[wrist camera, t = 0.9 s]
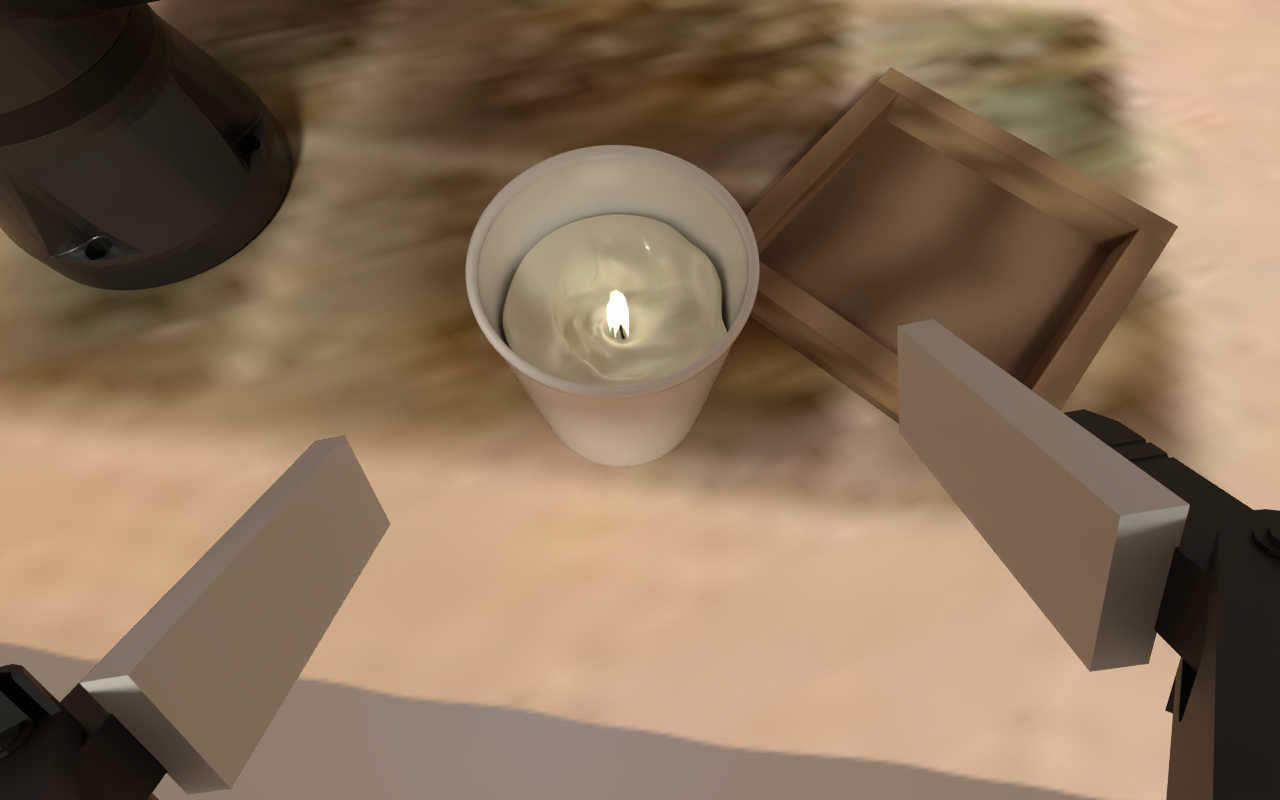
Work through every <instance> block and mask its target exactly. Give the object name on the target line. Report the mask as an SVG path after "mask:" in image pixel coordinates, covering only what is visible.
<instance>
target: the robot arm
mask: <svg viewBox="0 0 1280 800" xmlns="http://www.w3.org/2000/svg"><path fill="white" fill-rule="evenodd" d="M154 1H159V0H0V228H1V229H2V230H3V231H4V232H5V233H6V234H7V236H8V237H9V238H10V239H11V240H12V241H13V242H14V243H15V244H17V245H18V246H19V247H20V248H21V249H23V250H24V251H25V252H27V253H28V254H30V255H31V256H33V257H34V258H36V259H38V260H39V261H41V262H43V263H44V264H46V265H47V266H49V267H51V268H52V269H54V270H56V271H57V272H59V273H61V274H62V275H64V276H65V277H67V278H69V279H71V280H74V281H76V282H79V283H81V284H84V285H88V286H92V287H96V288H102V289H110V290H138V289H147V288H153V287H159V286H163V285H167V284H171V283H174V282H178V281H181V280H184V279H187V278H189V277H192V276H194V275H197V274H199V273H201V272H203V271H205V270H207V269H210V268H211V267H213V266H215V265H217V264H219V263H220V262H222V261H224V260H225V259H227V258H228V257H230V256H231V255H233V254H234V253H236V252H237V251H238V250H240V249H241V248H242V247H243V246H245V245H246V244H247V243H248V242H249V241H250V240H251V239H253V238H254V237H255V236H256V235H257V234H258V233H259V232H260V230H261V229H262V228H263V227H264V226H265V225H266V224H267V222H268V221H269V220H270V218H271V217H272V216H273V214H274V213H275V211H276V210H277V208H278V206H279V204H280V203H281V201H282V198H283V196H284V194H285V191H286V189H287V186H288V182H289V178H290V173H291V151H290V147H289V143H288V140H287V137H286V135H285V133H284V131H283V129H282V128H281V126H280V125H279V123H278V122H277V121H276V119H275V118H274V116H273V115H272V114H271V112H270V111H269V110H268V108H267V107H266V105H265V104H264V103H263V101H262V100H261V99H260V97H259V96H258V95H257V94H256V93H255V92H254V91H253V90H252V89H251V88H250V87H249V86H248V85H247V84H246V83H245V82H243V81H242V80H241V79H239V78H238V77H237V76H236V75H234V74H233V73H232V72H230V71H229V70H228V69H227V68H225V67H224V66H223V65H221V64H220V63H219V62H218V61H216V60H215V59H214V58H212V57H211V56H210V55H208V54H207V53H206V52H205V51H203V50H202V49H201V48H199V47H198V46H197V45H196V44H194V43H193V42H192V41H190V40H189V39H188V38H187V37H185V36H184V35H183V34H181V33H180V32H179V31H177V30H176V29H175V28H174V27H172V26H171V25H170V24H168V23H167V22H166V21H165V20H163V19H162V18H161V17H159V16H158V15H157V14H156V13H155V12H154V11H153V10H152V9H151V7H150V6H149V5H148V4H147V3H149V2H154ZM897 337H898V394H899V433H900V434H901V435H902V436H903V438H904V439H905V440H906V441H907V443H908V444H909V445H910V446H911V448H912V449H913V450H914V451H915V453H916V454H917V455H918V456H919V458H920V459H921V460H922V461H923V463H924V464H925V465H926V467H927V468H928V469H929V470H930V472H931V473H932V474H933V475H934V477H935V478H936V479H937V480H938V482H939V483H940V484H941V485H942V487H943V488H944V489H945V490H946V492H947V493H948V494H949V495H950V497H951V498H952V499H953V500H954V502H955V503H956V504H957V505H958V507H959V508H960V509H961V510H962V512H963V513H964V514H965V515H966V517H967V518H968V519H969V520H970V522H971V523H972V524H973V525H974V527H975V528H976V529H977V531H978V532H979V533H980V534H981V536H982V537H983V538H984V539H985V541H986V542H987V543H988V544H989V546H990V547H991V548H992V549H993V551H994V552H995V553H996V554H997V556H998V557H999V558H1000V559H1001V561H1002V562H1003V563H1004V564H1005V566H1006V567H1007V568H1008V569H1009V571H1010V572H1011V573H1012V574H1013V576H1014V577H1015V578H1016V579H1017V581H1018V582H1019V583H1020V584H1021V586H1022V587H1023V588H1024V589H1025V591H1026V592H1027V593H1028V595H1029V596H1030V597H1031V598H1032V600H1033V601H1034V602H1035V603H1036V605H1037V606H1038V607H1039V608H1040V610H1041V611H1042V612H1043V613H1044V615H1045V616H1046V617H1047V618H1048V620H1049V621H1050V622H1051V623H1052V625H1053V626H1054V627H1055V628H1056V630H1057V631H1058V632H1059V633H1060V635H1061V636H1062V637H1063V638H1064V640H1065V641H1066V642H1067V643H1068V645H1069V646H1070V647H1071V648H1072V650H1073V651H1074V652H1075V653H1076V655H1077V656H1078V657H1079V659H1080V660H1081V661H1082V662H1083V664H1084V665H1085V666H1086V667H1087V669H1088V670H1089V671H1090V672H1091V671H1098V670H1105V669H1113V668H1120V667H1127V666H1135V665H1142V664H1149V660H1150V656H1151V652H1152V649H1153V645H1154V641H1155V637H1156V633H1158V634H1159V635H1160V636H1161V637H1162V638H1163V639H1164V640H1165V641H1166V642H1167V643H1168V644H1169V645H1170V646H1171V647H1172V648H1173V649H1174V650H1175V651H1176V652H1177V653H1178V654H1179V655H1180V656H1181V659H1180V662H1179V666H1178V669H1177V673H1176V676H1175V679H1174V683H1173V686H1172V690H1171V693H1170V696H1169V700H1168V703H1167V706H1166V710H1165V711H1168V712H1171V713H1173V722H1172V735H1171V748H1170V760H1169V773H1168V786H1167V799H1166V800H1280V511H1277V510H1268V509H1263V510H1253V509H1251V508H1250V507H1248V506H1247V505H1245V504H1244V503H1242V502H1240V501H1239V500H1237V499H1236V498H1234V497H1233V496H1231V495H1230V494H1228V493H1227V492H1225V491H1224V490H1222V489H1221V488H1219V487H1218V486H1216V485H1215V484H1213V483H1212V482H1210V481H1208V480H1207V479H1205V478H1204V477H1202V476H1201V475H1199V474H1198V473H1196V472H1195V471H1193V470H1192V469H1190V468H1189V467H1187V466H1186V465H1184V464H1183V463H1181V462H1180V461H1178V460H1176V459H1175V458H1173V457H1172V458H1169V457H1168V455H1167V453H1166V452H1164V451H1163V450H1161V449H1160V448H1158V447H1157V446H1155V445H1154V444H1152V443H1151V442H1150V443H1146V441H1145V439H1144V438H1143V437H1141V436H1140V435H1138V434H1137V433H1135V432H1134V431H1132V430H1131V429H1129V428H1128V427H1126V426H1125V425H1123V424H1122V423H1120V422H1118V421H1115V420H1113V419H1110V418H1107V417H1104V416H1101V415H1098V414H1096V413H1093V412H1090V411H1087V410H1084V409H1083V410H1077V411H1072V412H1066V413H1062V412H1061V411H1060V410H1058V409H1057V408H1055V407H1054V406H1053V405H1051V404H1050V403H1048V402H1047V401H1046V400H1044V399H1043V398H1042V397H1040V396H1039V395H1037V394H1036V393H1035V392H1033V391H1032V390H1030V389H1029V388H1028V387H1026V386H1025V385H1024V384H1022V383H1021V382H1019V381H1018V380H1017V379H1015V378H1014V377H1012V376H1011V375H1010V374H1008V373H1007V372H1006V371H1004V370H1003V369H1001V368H1000V367H999V366H997V365H996V364H994V363H993V362H992V361H990V360H989V359H988V358H986V357H985V356H983V355H982V354H981V353H979V352H978V351H976V350H975V349H974V348H972V347H971V346H970V345H968V344H967V343H965V342H964V341H963V340H961V339H960V338H958V337H957V336H956V335H954V334H953V333H952V332H950V331H949V330H947V329H946V328H945V327H943V326H942V325H940V324H939V323H938V322H936V321H935V320H934V319H931V320H926V321H921V322H916V323H911V324H906V325H900V326H897ZM389 525H390V522H389V520H388V518H387V516H386V514H385V512H384V510H383V508H382V506H381V505H380V503H379V501H378V499H377V497H376V495H375V493H374V491H373V489H372V487H371V485H370V483H369V481H368V479H367V477H366V476H365V474H364V472H363V470H362V468H361V466H360V464H359V462H358V460H357V458H356V456H355V454H354V452H353V450H352V448H351V447H350V445H349V443H348V441H347V439H346V437H345V435H343V436H338V437H333V438H328V439H323V440H318V441H315V442H314V443H313V444H312V445H311V446H310V447H309V448H308V449H307V450H306V451H305V452H304V453H303V454H302V455H301V456H300V457H299V458H298V459H297V460H296V461H295V463H294V464H293V465H292V466H291V467H290V468H289V469H288V470H287V471H286V472H285V473H284V474H283V475H282V476H281V477H280V478H279V479H278V480H277V481H276V482H275V483H274V484H273V485H272V486H271V487H270V488H269V489H268V490H267V491H266V492H265V493H264V494H263V495H262V496H261V497H260V498H259V499H258V500H257V501H256V502H255V503H254V504H253V505H252V507H251V508H250V509H249V510H248V511H247V512H246V513H245V514H244V515H243V516H242V517H241V518H240V519H239V520H238V521H237V522H236V523H235V524H234V525H233V526H232V527H231V528H230V529H229V530H228V531H227V532H226V533H225V534H224V535H223V536H222V537H221V538H220V539H219V540H218V541H217V542H216V543H215V544H214V545H213V546H212V547H211V548H210V549H209V551H208V552H207V553H206V554H205V555H204V556H203V557H202V558H201V559H200V560H199V561H198V562H197V563H196V564H195V565H194V566H193V567H192V568H191V569H190V570H189V571H188V572H187V573H186V574H185V575H184V576H183V577H182V578H181V579H180V580H179V581H178V582H177V583H176V584H175V585H174V586H173V587H172V588H171V589H170V590H169V591H168V592H167V593H166V594H165V595H164V596H163V597H162V598H161V599H160V601H159V602H158V603H157V604H156V605H155V606H154V607H153V608H152V609H151V610H150V611H149V612H148V613H147V614H146V615H145V616H144V617H143V618H142V619H141V620H140V621H139V622H138V623H137V624H136V625H135V626H134V627H133V628H132V629H131V630H130V631H129V632H128V633H127V634H126V635H125V636H124V637H123V638H122V639H121V640H120V641H119V642H118V643H117V644H116V646H115V647H114V648H113V649H112V650H111V651H110V652H109V653H108V654H107V655H106V656H105V657H104V658H103V659H102V660H101V661H100V662H99V663H98V664H97V665H96V666H95V667H94V668H93V669H92V670H91V671H90V672H89V673H88V674H87V675H86V676H85V677H84V678H83V679H82V680H81V681H80V682H79V683H78V684H77V685H76V687H74V688H73V690H72V691H71V692H70V693H69V694H68V695H67V696H66V697H65V698H64V699H63V700H62V701H61V702H59V701H58V700H57V699H55V697H53V695H51V694H50V693H49V692H48V691H47V690H46V689H45V688H44V687H43V686H42V685H41V684H40V683H39V682H38V681H37V680H36V679H35V678H34V677H33V676H32V675H31V674H30V673H29V672H28V671H27V670H26V669H25V668H24V667H23V666H21V665H15V664H10V665H6V666H3V667H0V800H159V799H158V798H156V797H155V796H154V795H153V794H152V792H153V790H154V789H155V788H156V787H157V785H158V783H159V782H160V781H161V780H162V778H163V777H164V775H165V774H166V773H167V774H168V775H169V776H170V777H171V778H172V779H173V780H174V781H175V782H176V783H177V784H178V785H179V786H180V787H181V788H182V789H183V790H184V791H185V792H186V793H187V794H196V793H203V792H211V791H218V790H225V789H231V788H232V786H233V784H234V783H235V781H236V779H237V778H238V776H239V774H240V773H241V771H242V769H243V768H244V766H245V764H246V763H247V761H248V759H249V758H250V756H251V754H252V753H253V751H254V749H255V748H256V746H257V745H258V743H259V741H260V740H261V738H262V736H263V735H264V733H265V731H266V730H267V728H268V726H269V725H270V723H271V721H272V720H273V718H274V716H275V714H276V713H277V711H278V710H279V708H280V706H281V705H282V703H283V701H284V700H285V698H286V696H287V695H288V693H289V691H290V690H291V688H292V686H293V684H294V683H295V681H296V680H297V678H298V676H299V675H300V673H301V671H302V670H303V668H304V667H305V665H306V663H307V662H308V660H309V658H310V657H311V655H312V653H313V652H314V650H315V648H316V647H317V645H318V643H319V642H320V640H321V638H322V637H323V635H324V633H325V632H326V630H327V628H328V627H329V625H330V623H331V622H332V620H333V618H334V617H335V615H336V613H337V612H338V610H339V608H340V607H341V605H342V603H343V602H344V600H345V598H346V597H347V595H348V593H349V592H350V590H351V588H352V587H353V585H354V583H355V582H356V580H357V579H358V577H359V575H360V574H361V572H362V570H363V569H364V567H365V565H366V564H367V562H368V560H369V559H370V557H371V555H372V554H373V552H374V550H375V549H376V547H377V545H378V544H379V542H380V540H381V539H382V537H383V535H384V534H385V532H386V530H387V529H388V527H389Z"/></svg>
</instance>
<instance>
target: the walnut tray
mask: <svg viewBox="0 0 1280 800" xmlns="http://www.w3.org/2000/svg"><path fill="white" fill-rule="evenodd" d="M746 217H747V219H748V221H749V223H750V225H751V228H752V230H753V233H754V236H755V239H756V243H757V248H758V254H759V265H760V272H759V284H758V290H757V295H756V299H755V302H754V305H753V308H752V311H751V313H750V317H752V318H753V319H754V320H756V321H757V322H759V323H760V324H761V325H763V326H764V327H766V328H767V329H768V330H770V331H771V332H772V333H774V334H775V335H777V336H778V337H779V338H781V339H782V340H784V341H785V342H786V343H788V344H789V345H791V346H792V347H793V348H795V349H796V350H797V351H799V352H800V353H802V354H803V355H804V356H806V357H807V358H809V359H810V360H811V361H813V362H814V363H816V364H817V365H818V366H820V367H821V368H823V369H824V370H825V371H827V372H828V373H829V374H831V375H832V376H834V377H835V378H836V379H838V380H839V381H841V382H842V383H843V384H845V385H846V386H848V387H849V388H850V389H852V390H853V391H855V392H856V393H857V394H859V395H860V396H861V397H863V398H864V399H866V400H867V401H868V402H870V403H871V404H873V405H874V406H875V407H877V408H878V409H880V410H881V411H882V412H884V413H885V414H886V415H888V416H889V417H891V418H892V419H893V420H895V421H896V422H898V423H899V394H898V337H897V326H900V325H906V324H911V323H916V322H921V321H926V320H931V319H934V320H935V321H936V322H938V323H939V324H940V325H942V326H943V327H945V328H946V329H947V330H949V331H950V332H952V333H953V334H954V335H956V336H957V337H958V338H960V339H961V340H963V341H964V342H965V343H967V344H968V345H970V346H971V347H972V348H974V349H975V350H976V351H978V352H979V353H981V354H982V355H983V356H985V357H986V358H988V359H989V360H990V361H992V362H993V363H994V364H996V365H997V366H999V367H1000V368H1001V369H1003V370H1004V371H1006V372H1007V373H1008V374H1010V375H1011V376H1012V377H1014V378H1015V379H1017V380H1018V381H1019V382H1021V383H1022V384H1024V385H1025V386H1026V387H1028V388H1029V389H1030V390H1032V391H1033V392H1035V393H1036V394H1037V395H1039V396H1040V397H1042V398H1043V399H1044V400H1046V401H1047V402H1048V403H1050V404H1051V405H1053V406H1054V407H1055V408H1057V409H1058V410H1061V409H1062V407H1063V406H1064V404H1065V403H1066V401H1067V399H1068V398H1069V396H1070V395H1071V393H1072V392H1073V390H1074V388H1075V387H1076V385H1077V384H1078V382H1079V381H1080V379H1081V378H1082V376H1083V374H1084V373H1085V371H1086V370H1087V368H1088V367H1089V365H1090V363H1091V362H1092V360H1093V359H1094V357H1095V356H1096V354H1097V353H1098V351H1099V349H1100V348H1101V346H1102V345H1103V343H1104V342H1105V340H1106V338H1107V337H1108V335H1109V334H1110V332H1111V331H1112V329H1113V328H1114V326H1115V324H1116V323H1117V321H1118V320H1119V318H1120V317H1121V315H1122V313H1123V312H1124V310H1125V309H1126V307H1127V306H1128V304H1129V303H1130V301H1131V299H1132V298H1133V296H1134V295H1135V293H1136V292H1137V290H1138V288H1139V287H1140V285H1141V284H1142V282H1143V281H1144V279H1145V278H1146V276H1147V274H1148V273H1149V271H1150V270H1151V268H1152V267H1153V265H1154V263H1155V262H1156V260H1157V259H1158V257H1159V256H1160V254H1161V252H1162V251H1163V249H1164V248H1165V246H1166V245H1167V243H1168V242H1169V240H1170V238H1171V237H1172V235H1173V234H1174V232H1175V231H1176V229H1177V227H1178V226H1176V225H1175V224H1173V223H1171V222H1169V221H1167V220H1166V219H1164V218H1162V217H1160V216H1158V215H1157V214H1155V213H1153V212H1151V211H1149V210H1148V209H1146V208H1144V207H1142V206H1140V205H1138V204H1137V203H1135V202H1133V201H1131V200H1129V199H1128V198H1126V197H1124V196H1122V195H1120V194H1119V193H1117V192H1115V191H1113V190H1111V189H1110V188H1108V187H1106V186H1104V185H1102V184H1101V183H1099V182H1097V181H1095V180H1093V179H1091V178H1090V177H1088V176H1086V175H1084V174H1082V173H1081V172H1079V171H1077V170H1075V169H1073V168H1072V167H1070V166H1068V165H1066V164H1064V163H1063V162H1061V161H1059V160H1057V159H1055V158H1054V157H1052V156H1050V155H1048V154H1046V153H1044V152H1043V151H1041V150H1039V149H1037V148H1035V147H1034V146H1032V145H1030V144H1028V143H1026V142H1025V141H1023V140H1021V139H1019V138H1017V137H1016V136H1014V135H1012V134H1010V133H1008V132H1007V131H1005V130H1003V129H1001V128H999V127H997V126H996V125H994V124H992V123H990V122H988V121H987V120H985V119H983V118H981V117H979V116H978V115H976V114H974V113H972V112H970V111H969V110H967V109H965V108H963V107H961V106H960V105H958V104H956V103H954V102H952V101H950V100H949V99H947V98H945V97H943V96H941V95H940V94H938V93H936V92H934V91H932V90H931V89H929V88H927V87H925V86H923V85H922V84H920V83H918V82H916V81H914V80H913V79H911V78H909V77H907V76H905V75H904V74H902V73H900V72H898V71H896V70H894V69H893V68H890V69H889V70H888V71H887V72H886V73H885V74H884V75H883V76H882V77H881V78H880V79H879V80H878V81H877V82H876V83H875V84H874V85H873V86H872V87H871V88H870V89H869V90H868V91H867V92H866V93H865V94H864V95H863V96H862V97H861V98H860V99H859V100H858V101H857V102H856V103H855V105H854V106H853V107H852V108H851V109H850V110H849V111H848V112H847V113H846V114H845V115H844V116H843V117H842V118H841V119H840V120H839V121H838V122H837V123H836V124H835V125H834V126H833V127H832V128H831V129H830V130H829V131H828V132H827V133H826V134H825V135H824V136H823V137H822V138H821V139H820V140H819V141H818V142H817V143H816V144H815V145H814V146H813V147H812V148H811V150H810V151H809V152H808V153H807V154H806V155H805V156H804V157H803V158H802V159H801V160H800V161H799V162H798V163H797V164H796V165H795V166H794V167H793V168H792V169H791V170H790V171H789V172H788V173H787V174H786V175H785V176H784V177H783V178H782V179H781V180H780V181H779V182H778V183H777V184H776V185H775V186H774V187H773V188H772V189H771V190H770V191H769V192H768V193H767V195H766V196H765V197H764V198H763V199H762V200H761V201H760V202H759V203H758V204H757V205H756V206H755V207H754V208H753V209H752V210H751V211H750V212H749V213H748V214H747V215H746Z"/></svg>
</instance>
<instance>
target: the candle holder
mask: <svg viewBox="0 0 1280 800" xmlns="http://www.w3.org/2000/svg"><path fill="white" fill-rule="evenodd" d="M759 272H760V265H759V254H758V248H757V243H756V239H755V236H754V233H753V230H752V228H751V225H750V223H749V221H748V219H747V217H746V215H745V213H744V212H743V210H742V209H741V207H740V206H739V204H738V203H737V201H736V200H735V199H734V198H733V196H732V195H731V194H730V193H729V192H728V191H727V190H726V189H725V188H724V187H723V186H722V185H721V184H720V183H719V182H718V181H717V180H715V179H714V178H713V177H712V176H710V175H709V174H708V173H706V172H705V171H703V170H702V169H700V168H698V167H697V166H695V165H693V164H691V163H689V162H687V161H685V160H683V159H681V158H679V157H676V156H674V155H671V154H668V153H665V152H662V151H658V150H654V149H650V148H644V147H638V146H629V145H601V146H591V147H585V148H580V149H575V150H571V151H568V152H564V153H561V154H558V155H555V156H553V157H550V158H548V159H546V160H543V161H541V162H539V163H537V164H535V165H534V166H532V167H530V168H528V169H527V170H525V171H524V172H522V173H521V174H519V175H518V176H517V177H515V178H514V179H513V180H511V181H510V182H509V183H508V184H507V185H506V186H505V187H504V188H503V189H502V190H501V191H500V192H499V193H498V194H497V195H496V196H495V197H494V198H493V199H492V201H491V202H490V203H489V204H488V206H487V207H486V209H485V210H484V212H483V213H482V215H481V217H480V219H479V220H478V222H477V224H476V227H475V229H474V231H473V234H472V237H471V240H470V243H469V247H468V252H467V258H466V287H467V293H468V298H469V302H470V305H471V308H472V311H473V314H474V316H475V318H476V320H477V323H478V324H479V326H480V328H481V330H482V332H483V333H484V335H485V336H486V338H487V339H488V341H489V342H490V343H491V344H492V346H493V347H494V348H495V349H496V350H497V352H498V353H499V354H500V355H501V356H502V357H503V359H504V360H505V362H506V363H507V365H508V366H509V368H510V369H511V371H512V372H513V374H514V375H515V377H516V378H517V380H518V381H519V383H520V384H521V386H522V387H523V389H524V390H525V392H526V393H527V395H528V396H529V398H530V399H531V401H532V402H533V404H534V405H535V407H536V408H537V410H538V411H539V413H540V414H541V416H542V417H543V418H544V420H545V421H546V423H547V424H548V426H549V427H550V428H551V430H552V431H553V433H554V434H555V435H556V436H557V437H558V439H559V440H560V441H561V442H562V443H563V444H564V445H565V446H566V447H567V448H569V449H570V450H571V451H573V452H574V453H575V454H577V455H579V456H580V457H582V458H584V459H586V460H589V461H591V462H594V463H597V464H601V465H605V466H611V467H631V466H638V465H642V464H646V463H649V462H652V461H654V460H656V459H658V458H660V457H662V456H664V455H666V454H667V453H669V452H670V451H672V450H673V449H674V448H675V447H676V446H678V445H679V444H680V443H681V442H682V441H683V439H684V438H685V437H686V436H687V435H688V433H689V432H690V430H691V429H692V427H693V426H694V424H695V422H696V420H697V419H698V417H699V415H700V413H701V411H702V409H703V407H704V405H705V402H706V400H707V398H708V396H709V394H710V392H711V390H712V388H713V386H714V384H715V382H716V379H717V377H718V375H719V373H720V371H721V369H722V367H723V365H724V363H725V360H726V358H727V356H728V354H729V352H730V350H731V348H732V346H733V344H734V342H735V339H736V338H737V337H738V335H739V334H740V332H741V331H742V329H743V327H744V326H745V324H746V322H747V320H748V318H749V316H750V313H751V311H752V308H753V305H754V302H755V299H756V295H757V290H758V284H759Z"/></svg>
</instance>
